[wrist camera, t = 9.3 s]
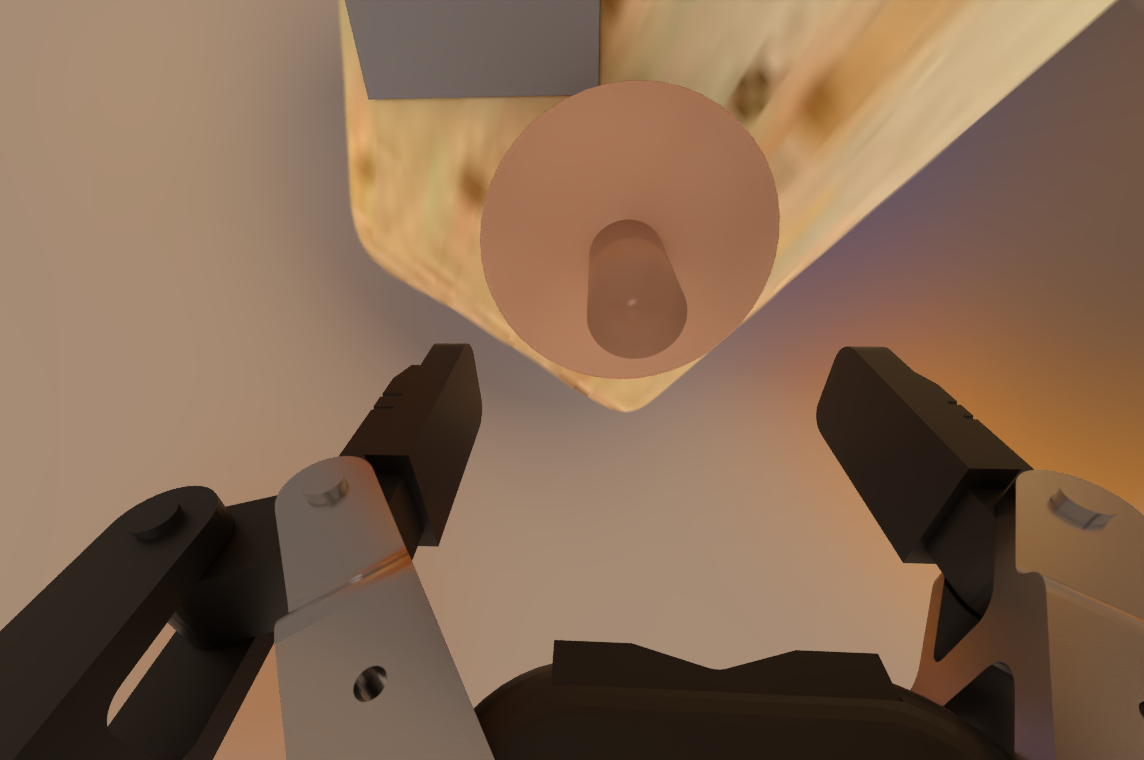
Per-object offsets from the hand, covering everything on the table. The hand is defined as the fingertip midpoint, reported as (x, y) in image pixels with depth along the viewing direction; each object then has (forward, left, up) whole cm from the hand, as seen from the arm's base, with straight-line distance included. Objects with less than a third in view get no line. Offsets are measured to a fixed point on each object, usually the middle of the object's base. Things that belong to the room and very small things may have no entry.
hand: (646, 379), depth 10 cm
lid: (0, 0, -9) cm, 9 cm away
